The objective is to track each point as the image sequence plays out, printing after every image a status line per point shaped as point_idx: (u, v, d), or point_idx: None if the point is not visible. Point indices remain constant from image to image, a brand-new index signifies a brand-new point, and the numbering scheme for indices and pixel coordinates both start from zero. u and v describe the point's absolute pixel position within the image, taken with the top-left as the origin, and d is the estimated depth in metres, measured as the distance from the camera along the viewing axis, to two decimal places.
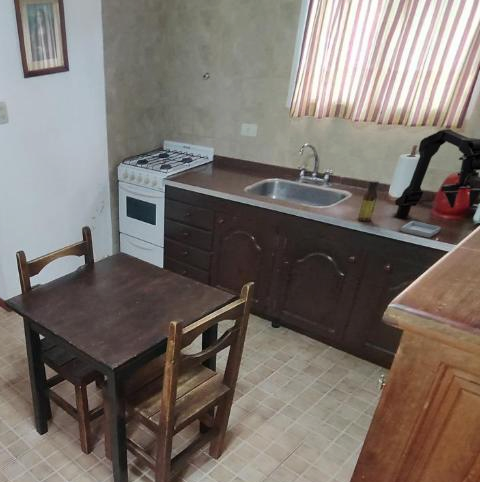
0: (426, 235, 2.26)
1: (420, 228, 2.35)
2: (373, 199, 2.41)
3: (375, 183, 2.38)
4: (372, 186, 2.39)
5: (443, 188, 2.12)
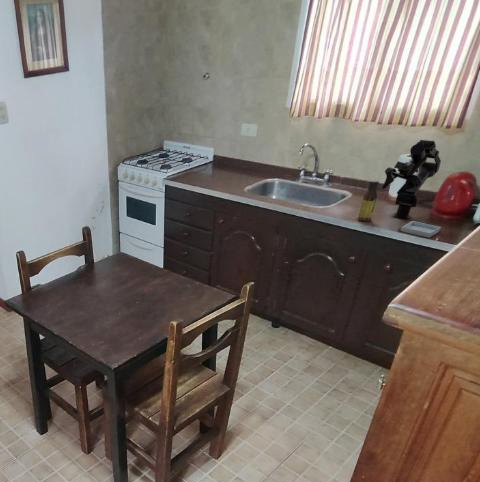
0: (426, 235, 2.26)
1: (420, 228, 2.35)
2: (373, 199, 2.41)
3: (375, 183, 2.38)
4: (372, 186, 2.39)
5: None
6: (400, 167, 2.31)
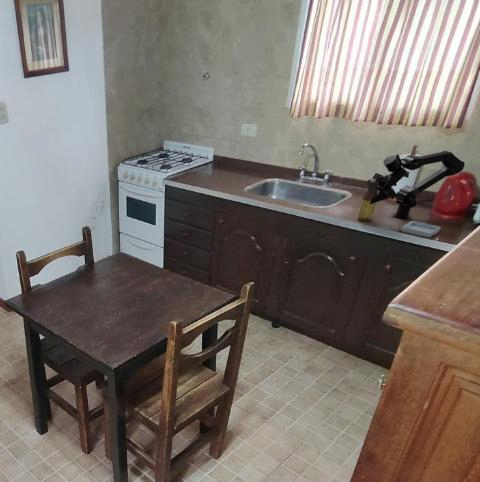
0: (426, 235, 2.26)
1: (420, 228, 2.35)
2: None
3: (375, 183, 2.38)
4: (372, 186, 2.39)
5: None
6: (376, 178, 2.37)
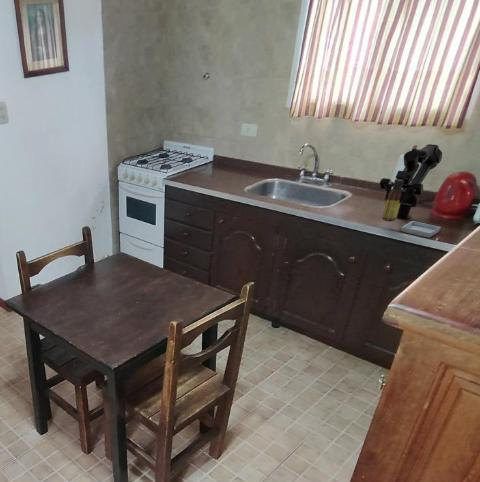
0: (426, 235, 2.26)
1: (420, 228, 2.35)
2: None
3: (403, 181, 2.26)
4: (400, 185, 2.27)
5: None
6: (404, 176, 2.25)
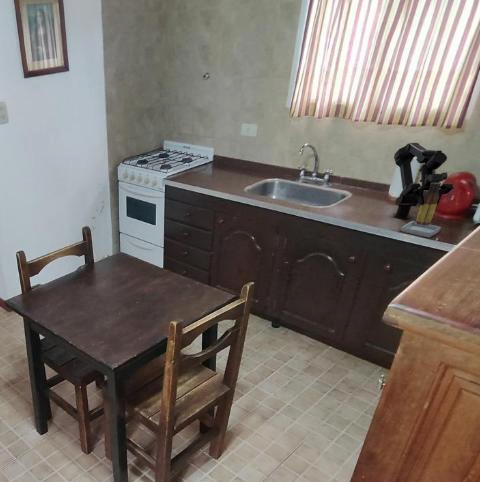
0: (426, 235, 2.26)
1: (420, 228, 2.35)
2: None
3: None
4: (438, 188, 2.20)
5: (406, 189, 2.29)
6: (441, 179, 2.19)
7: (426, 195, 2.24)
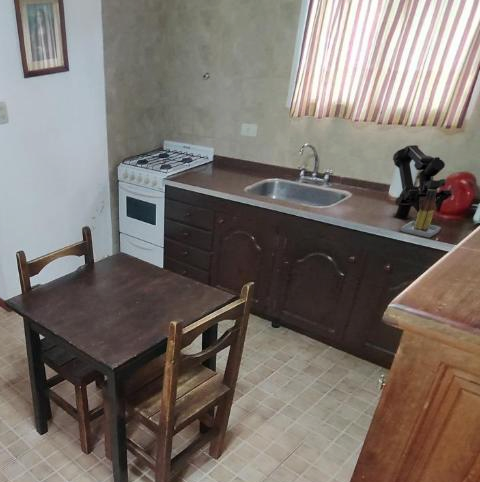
0: (426, 235, 2.26)
1: None
2: None
3: None
4: (435, 195, 2.22)
5: (405, 196, 2.30)
6: (439, 185, 2.20)
7: (423, 202, 2.26)
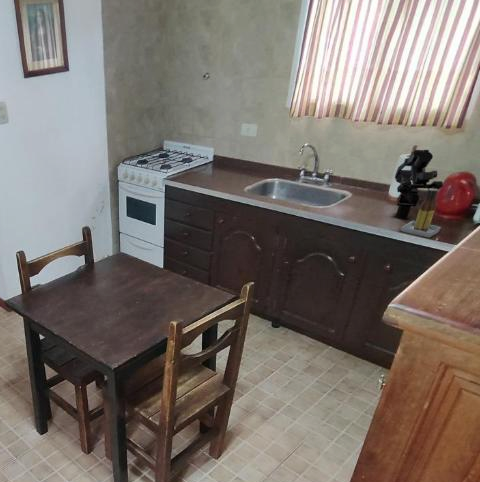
0: (426, 235, 2.26)
1: None
2: None
3: None
4: (435, 195, 2.22)
5: (398, 187, 2.37)
6: (432, 177, 2.27)
7: (424, 202, 2.26)
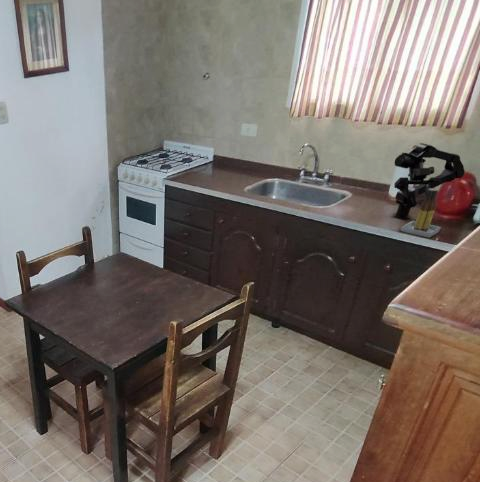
0: (426, 235, 2.26)
1: None
2: None
3: None
4: (435, 195, 2.22)
5: (395, 183, 2.37)
6: (428, 173, 2.27)
7: (424, 202, 2.26)
